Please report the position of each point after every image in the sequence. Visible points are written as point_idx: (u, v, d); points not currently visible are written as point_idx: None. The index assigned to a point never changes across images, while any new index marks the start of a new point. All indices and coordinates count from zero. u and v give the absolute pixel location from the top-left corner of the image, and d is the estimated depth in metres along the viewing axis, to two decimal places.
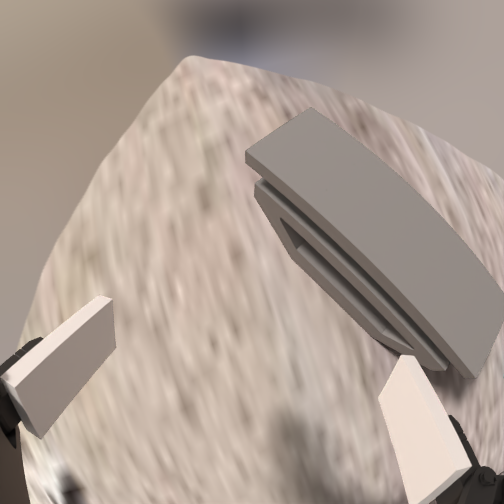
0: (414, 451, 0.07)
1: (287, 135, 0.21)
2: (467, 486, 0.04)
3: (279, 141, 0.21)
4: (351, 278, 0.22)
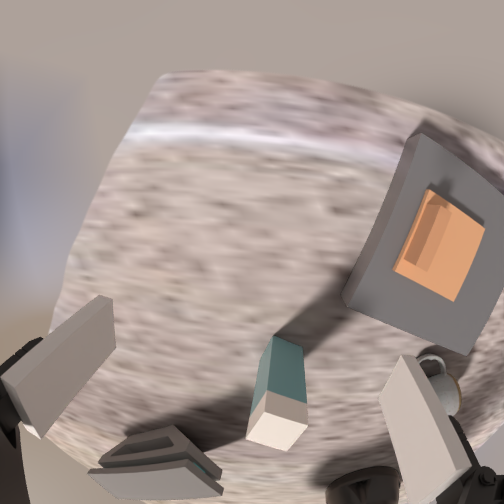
0: (414, 451, 0.07)
1: (106, 488, 0.32)
2: (467, 486, 0.04)
3: (110, 491, 0.32)
4: None
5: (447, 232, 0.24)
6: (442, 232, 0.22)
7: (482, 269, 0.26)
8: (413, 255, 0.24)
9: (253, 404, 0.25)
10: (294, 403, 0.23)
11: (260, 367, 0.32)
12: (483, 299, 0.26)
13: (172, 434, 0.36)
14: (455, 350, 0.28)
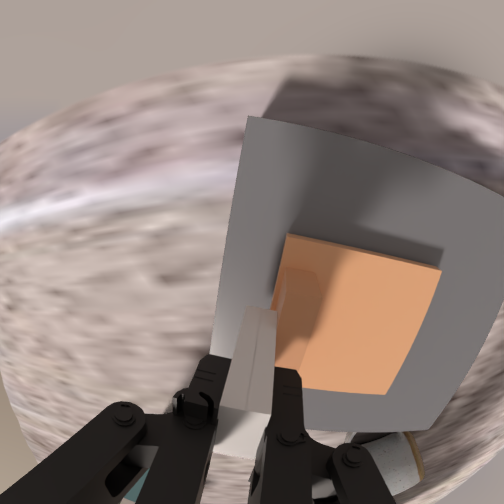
0: None
1: None
2: (264, 450, 0.06)
3: None
4: None
5: (349, 303, 0.14)
6: (303, 340, 0.12)
7: (439, 328, 0.15)
8: None
9: None
10: None
11: None
12: (447, 365, 0.16)
13: None
14: (405, 430, 0.18)
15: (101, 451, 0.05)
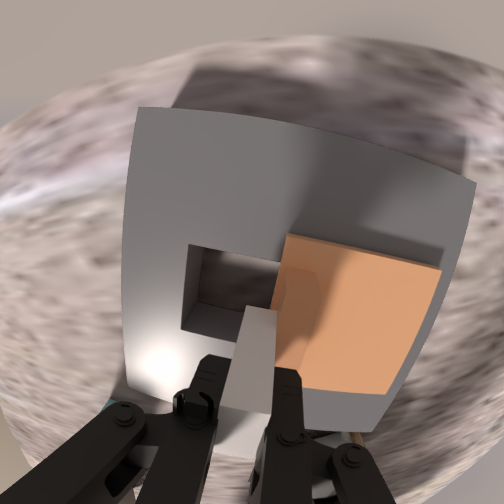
0: None
1: None
2: (264, 450, 0.06)
3: None
4: None
5: (349, 303, 0.14)
6: (303, 340, 0.12)
7: None
8: None
9: None
10: None
11: None
12: None
13: None
14: (341, 430, 0.19)
15: (101, 451, 0.05)
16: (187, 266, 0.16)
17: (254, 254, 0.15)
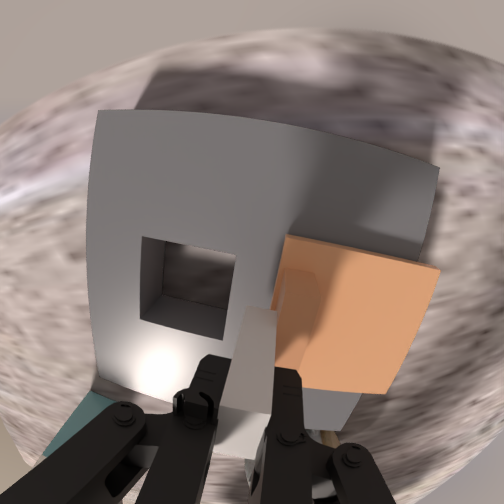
0: None
1: None
2: (264, 450, 0.06)
3: None
4: None
5: (348, 303, 0.14)
6: (303, 340, 0.12)
7: None
8: None
9: None
10: None
11: None
12: None
13: None
14: (307, 427, 0.19)
15: (101, 451, 0.05)
16: (142, 258, 0.16)
17: (201, 245, 0.16)
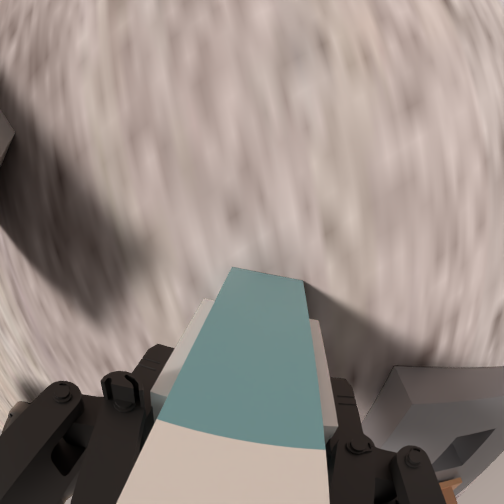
0: None
1: None
2: (333, 457, 0.06)
3: None
4: None
5: None
6: None
7: None
8: None
9: (195, 387, 0.07)
10: None
11: (239, 291, 0.13)
12: None
13: None
14: None
15: (44, 426, 0.05)
16: (485, 428, 0.14)
17: (474, 453, 0.15)
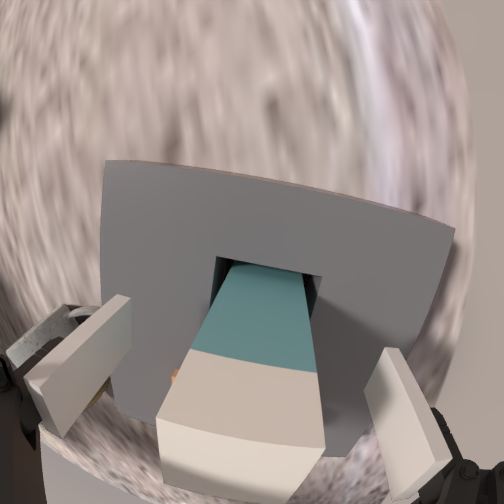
0: (396, 442, 0.08)
1: None
2: (448, 480, 0.05)
3: None
4: None
5: None
6: None
7: None
8: None
9: (217, 329, 0.10)
10: None
11: (247, 268, 0.16)
12: None
13: None
14: (114, 391, 0.19)
15: None
16: (295, 269, 0.15)
17: None
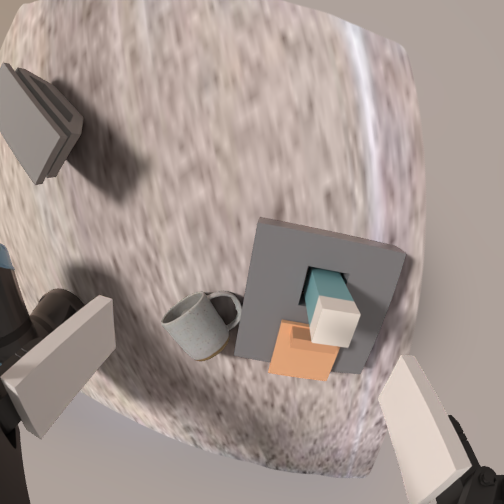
0: (414, 451, 0.07)
1: None
2: (467, 486, 0.04)
3: None
4: None
5: (318, 353, 0.38)
6: (319, 350, 0.34)
7: None
8: (298, 333, 0.35)
9: (322, 290, 0.31)
10: None
11: (318, 270, 0.37)
12: None
13: (76, 118, 0.34)
14: (237, 340, 0.40)
15: None
16: (338, 271, 0.36)
17: None
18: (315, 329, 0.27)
